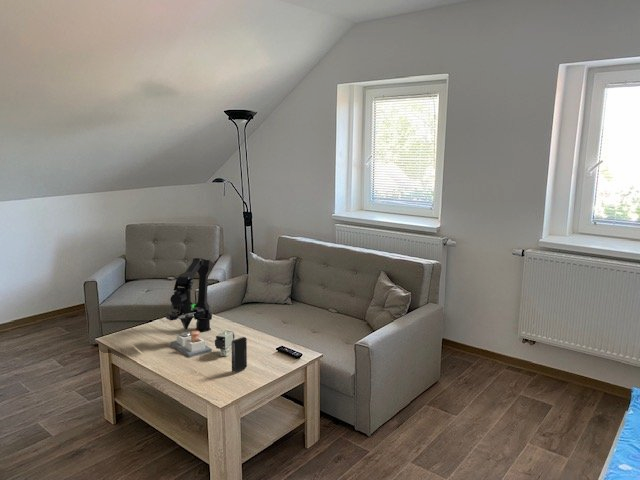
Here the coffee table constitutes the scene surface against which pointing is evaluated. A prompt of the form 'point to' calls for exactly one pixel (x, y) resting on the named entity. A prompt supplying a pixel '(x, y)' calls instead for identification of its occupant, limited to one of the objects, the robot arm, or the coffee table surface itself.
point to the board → (190, 346)
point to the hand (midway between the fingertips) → (185, 329)
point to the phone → (239, 354)
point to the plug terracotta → (194, 336)
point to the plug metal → (185, 334)
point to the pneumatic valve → (224, 342)
